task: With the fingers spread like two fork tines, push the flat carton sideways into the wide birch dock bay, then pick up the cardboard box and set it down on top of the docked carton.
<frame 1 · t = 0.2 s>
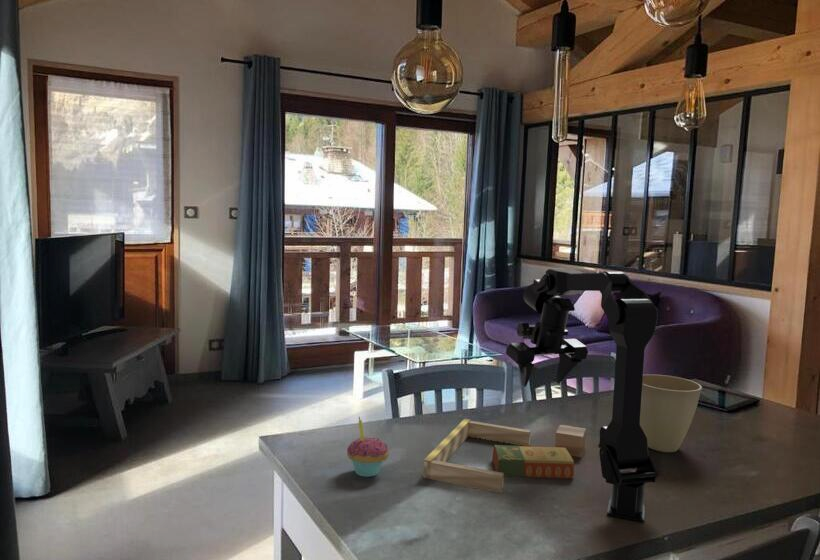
hand: (541, 384, 153), 15 cm above the table, tool pointing down, fingers open, 9 cm apart
plant pot: (662, 447, 158), on the table
cupcake: (367, 472, 136), on the table
dock bay: (482, 460, 145), on the table
cardboard box: (569, 451, 153), on the table
carton: (531, 471, 141), on the table
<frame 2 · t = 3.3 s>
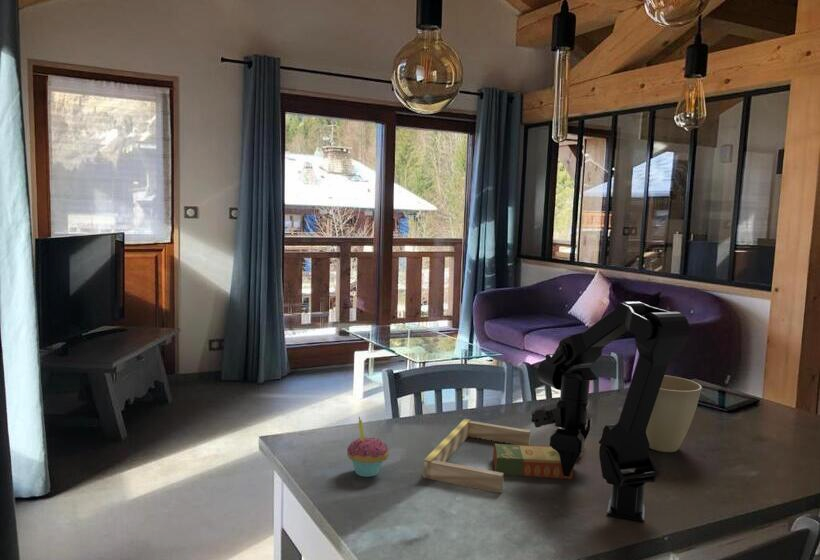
hand: (569, 468, 139), 1 cm above the table, tool pointing down, fingers open, 9 cm apart
carton: (531, 471, 141), on the table, touching gripper
everything else where it was.
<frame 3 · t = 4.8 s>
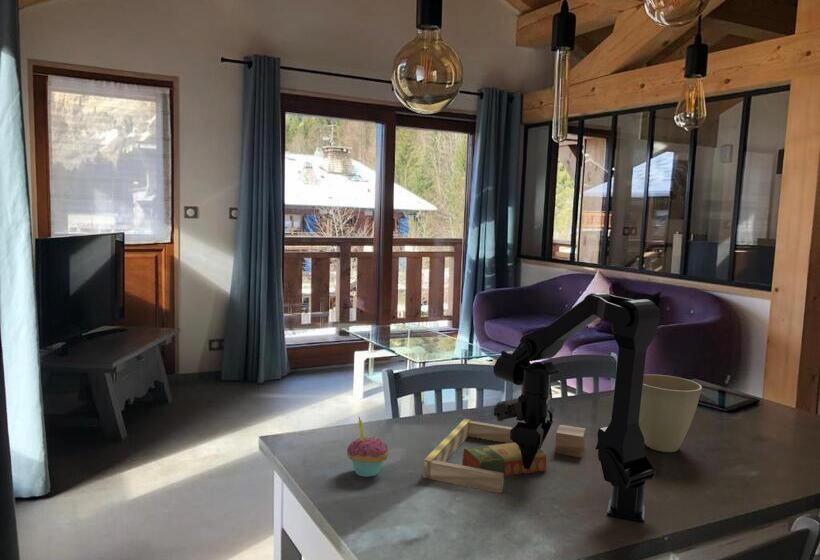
hand: (531, 460, 142), 1 cm above the table, tool pointing down, fingers open, 9 cm apart
carton: (503, 469, 142), on the table, touching gripper
everything else where it was.
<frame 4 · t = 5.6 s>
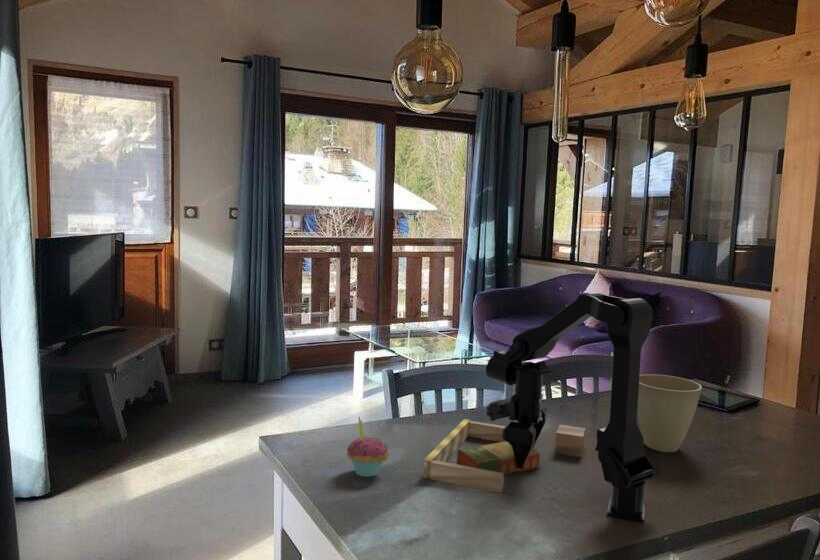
hand: (523, 460, 143), 1 cm above the table, tool pointing down, fingers open, 9 cm apart
carton: (497, 469, 142), on the table
everything else where it was.
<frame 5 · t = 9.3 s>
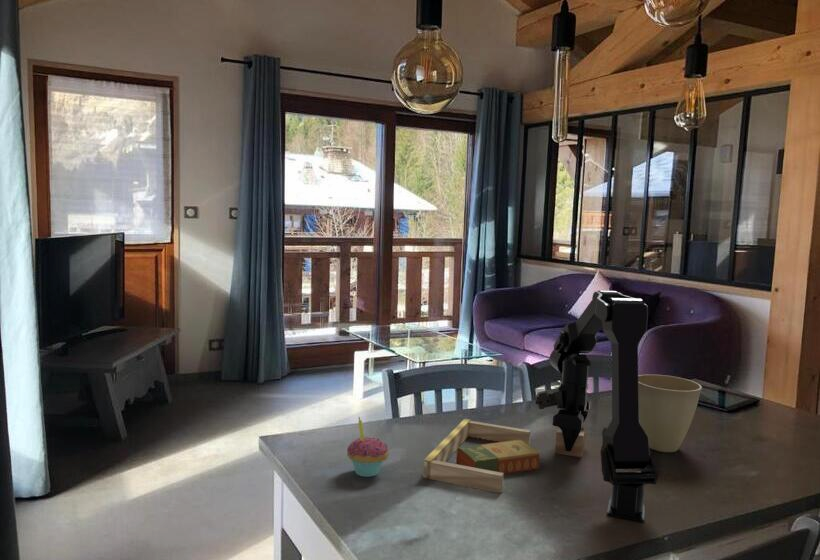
hand: (570, 446, 153), 1 cm above the table, tool pointing down, fingers closed on cardboard box, 6 cm apart
cardboard box: (569, 450, 153), on the table, touching gripper
everything else where it was.
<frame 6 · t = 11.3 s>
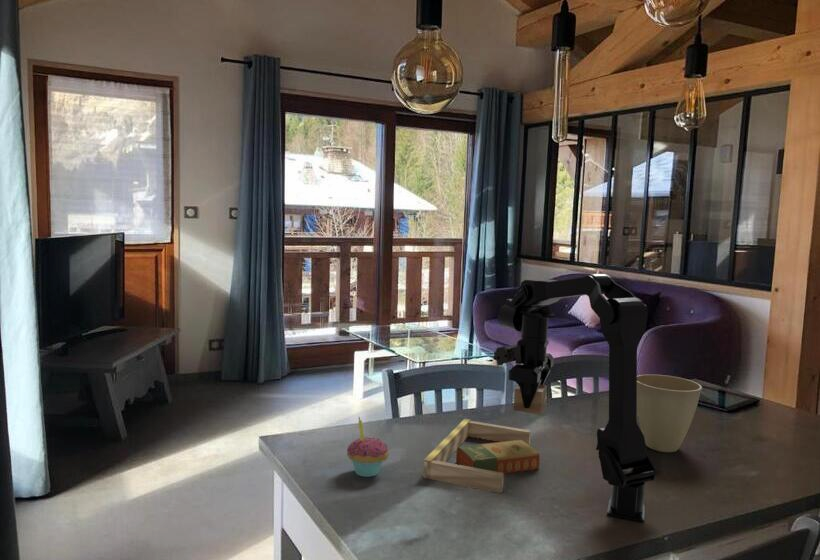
hand: (529, 404, 147), 12 cm above the table, tool pointing down, fingers closed on cardboard box, 6 cm apart
cardboard box: (529, 408, 148), point 11 cm above the table, touching gripper
everything else where it was.
when the fingers open (6 cm above the table, at t = 13.3 s): cardboard box drops 1 cm, resting on carton.
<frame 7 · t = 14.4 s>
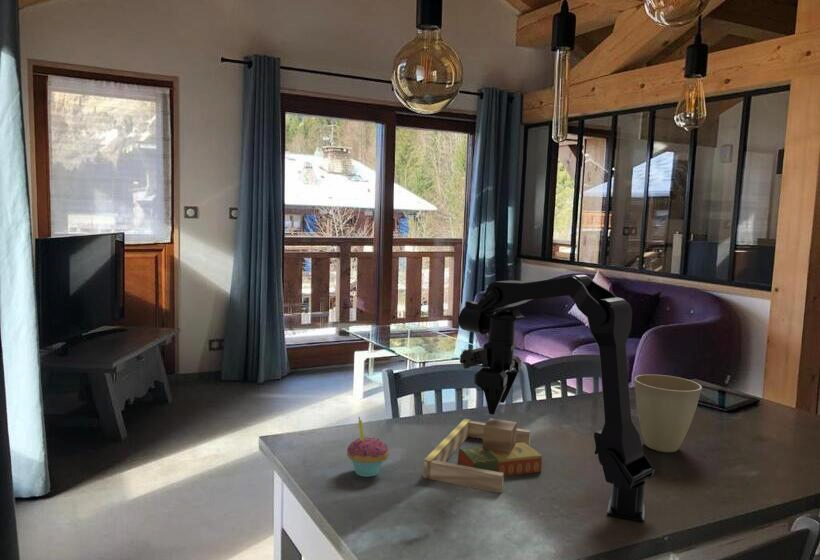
hand: (496, 408, 144), 12 cm above the table, tool pointing down, fingers open, 9 cm apart
cardboard box: (499, 446, 143), point 4 cm above the table, touching carton
carton: (498, 470, 141), on the table, touching cardboard box
everything else where it was.
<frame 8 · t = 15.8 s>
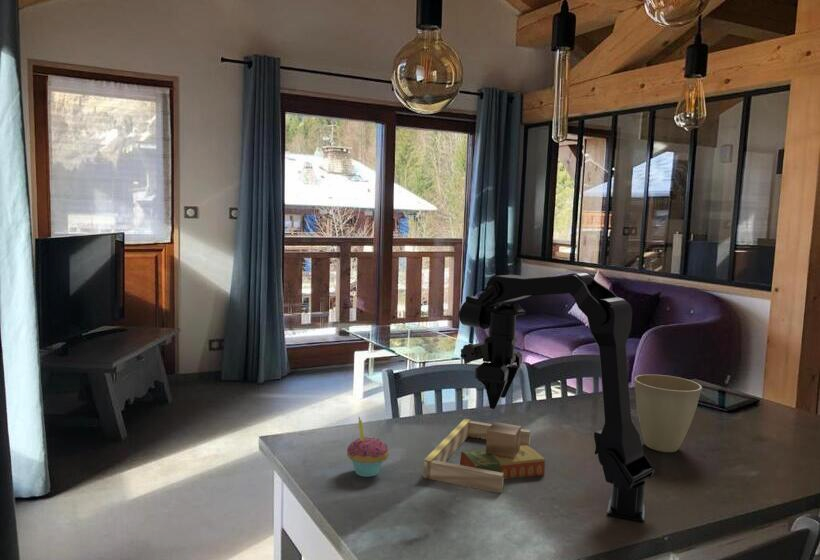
hand: (497, 402, 144), 13 cm above the table, tool pointing down, fingers open, 9 cm apart
cardboard box: (503, 450, 141), point 4 cm above the table, touching carton
carton: (501, 473, 140), on the table, touching cardboard box
everything else where it was.
at the end: carton inside the target area (6.2 cm from its centre), on the table; cardboard box inside the target area on the carton (1.4 cm from its centre), point 4.5 cm above the carton's base; cardboard box tilted 0° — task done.
